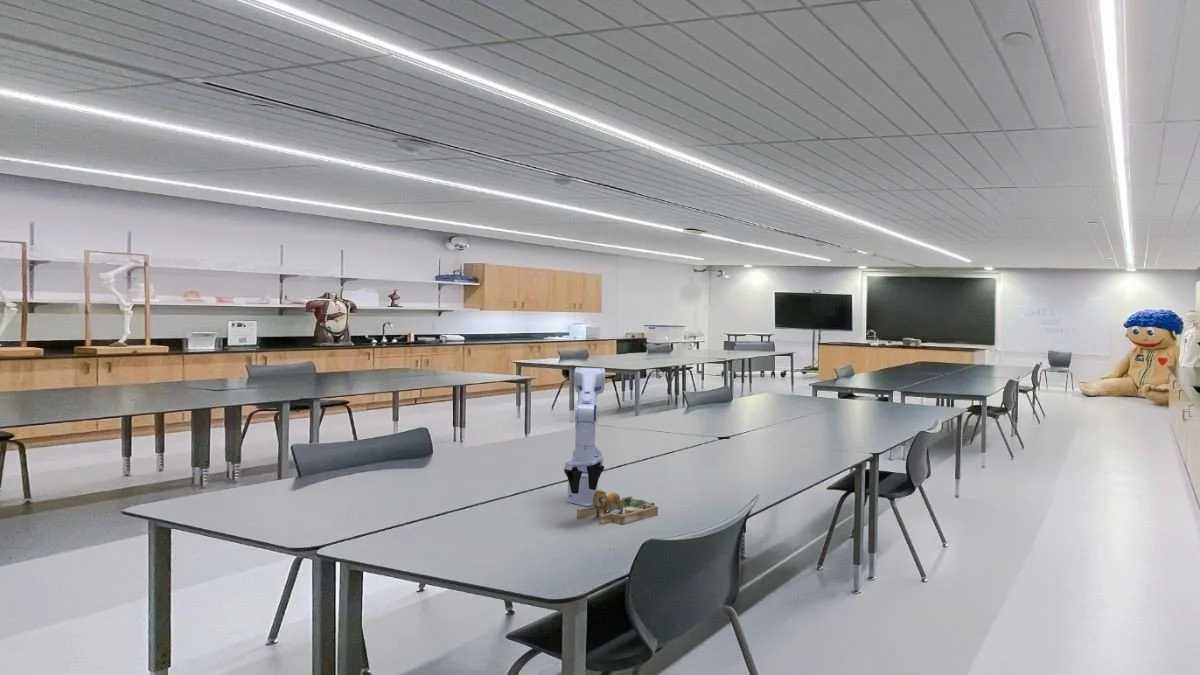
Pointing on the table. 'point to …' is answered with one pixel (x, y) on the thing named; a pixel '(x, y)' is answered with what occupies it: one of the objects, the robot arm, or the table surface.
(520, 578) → the table surface
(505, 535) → the table surface
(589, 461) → the robot arm
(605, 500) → the lion figurine
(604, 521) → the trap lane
